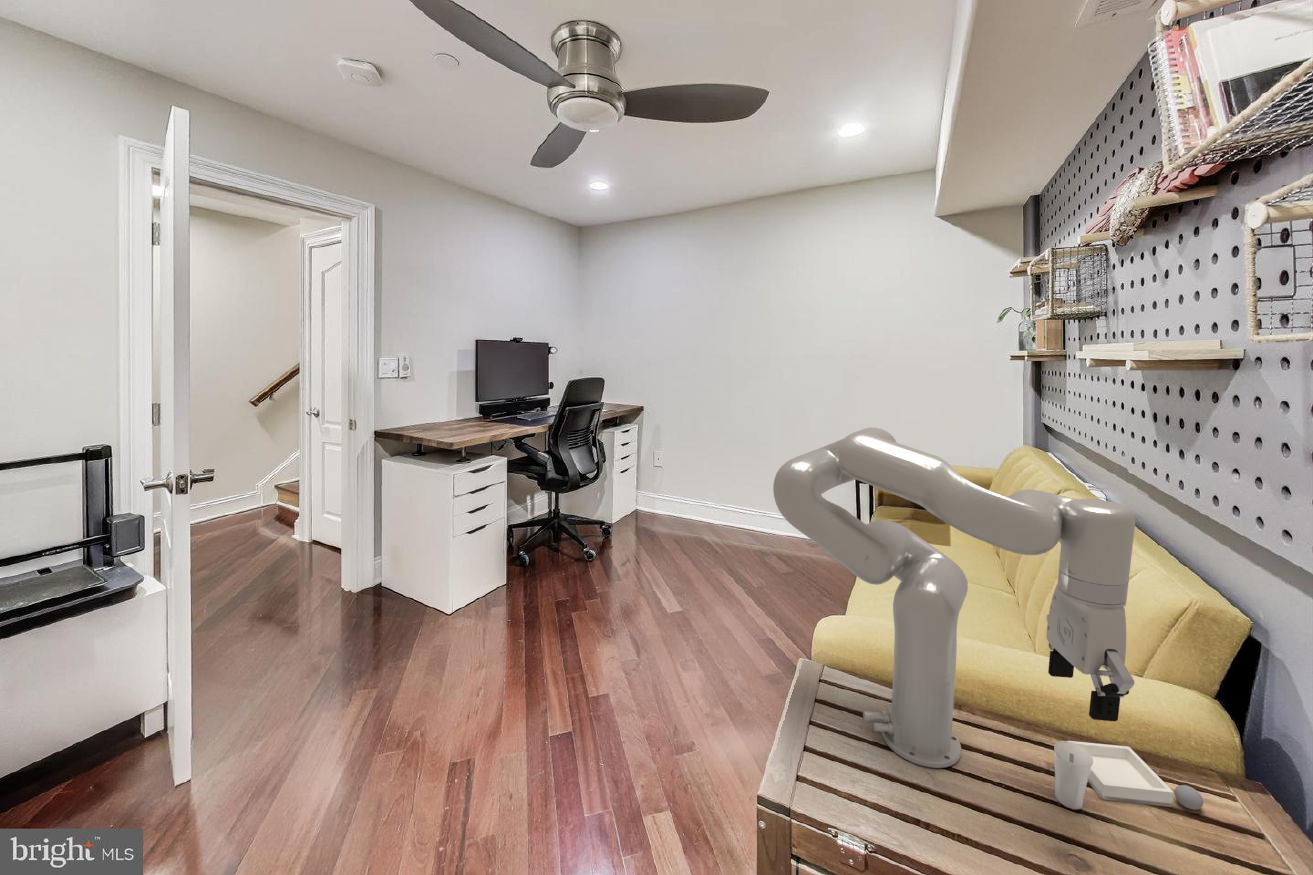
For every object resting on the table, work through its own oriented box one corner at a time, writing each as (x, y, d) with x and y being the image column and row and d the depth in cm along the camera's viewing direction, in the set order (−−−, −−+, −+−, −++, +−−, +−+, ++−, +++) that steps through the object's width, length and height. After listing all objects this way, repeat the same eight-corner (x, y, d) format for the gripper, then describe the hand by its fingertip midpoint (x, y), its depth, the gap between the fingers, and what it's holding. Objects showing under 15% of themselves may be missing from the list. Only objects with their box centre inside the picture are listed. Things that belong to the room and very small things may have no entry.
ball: (1184, 813, 75) (1186, 795, 74) (1167, 796, 78) (1170, 778, 77) (1208, 815, 74) (1210, 797, 74) (1190, 798, 77) (1193, 781, 77)
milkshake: (1046, 804, 77) (1052, 745, 75) (1052, 783, 80) (1057, 726, 79) (1085, 823, 74) (1091, 761, 72) (1089, 800, 77) (1096, 741, 76)
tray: (1102, 799, 77) (1103, 784, 77) (1065, 753, 86) (1066, 740, 86) (1172, 807, 76) (1174, 792, 75) (1127, 759, 85) (1129, 746, 84)
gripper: (1029, 562, 81) (1021, 660, 83) (1102, 614, 64) (1090, 736, 67) (1082, 564, 80) (1072, 663, 82) (1171, 618, 63) (1155, 742, 65)
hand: (1080, 696), depth 74 cm, fingers open, 9 cm apart
